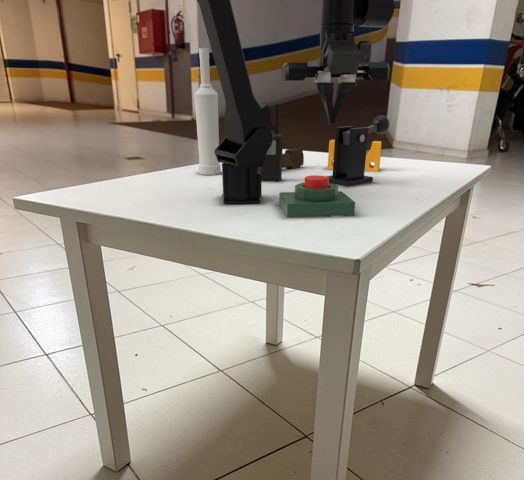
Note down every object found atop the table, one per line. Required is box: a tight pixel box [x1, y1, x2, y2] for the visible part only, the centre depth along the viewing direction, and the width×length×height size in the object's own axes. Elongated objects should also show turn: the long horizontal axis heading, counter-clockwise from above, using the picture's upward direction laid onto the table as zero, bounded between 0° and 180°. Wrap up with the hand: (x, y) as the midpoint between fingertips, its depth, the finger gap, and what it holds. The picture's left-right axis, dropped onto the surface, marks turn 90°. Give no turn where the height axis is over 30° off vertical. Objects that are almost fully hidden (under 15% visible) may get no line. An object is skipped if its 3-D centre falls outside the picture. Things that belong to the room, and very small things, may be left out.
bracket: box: [326, 125, 374, 188], centre depth 103 cm, size 8×7×11 cm
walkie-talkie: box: [259, 103, 284, 183], centre depth 104 cm, size 5×3×15 cm
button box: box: [278, 182, 356, 219], centre depth 82 cm, size 11×9×4 cm
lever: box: [342, 114, 390, 145], centre depth 103 cm, size 12×4×4 cm, turn 128°
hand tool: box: [258, 147, 305, 172], centre depth 117 cm, size 19×4×5 cm, turn 135°
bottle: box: [193, 47, 222, 176], centre depth 110 cm, size 5×5×25 cm
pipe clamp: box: [327, 139, 382, 172], centre depth 119 cm, size 12×4×6 cm, turn 73°
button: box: [303, 175, 329, 189], centre depth 81 cm, size 4×4×2 cm
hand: (331, 124), depth 93 cm, fingers closed
